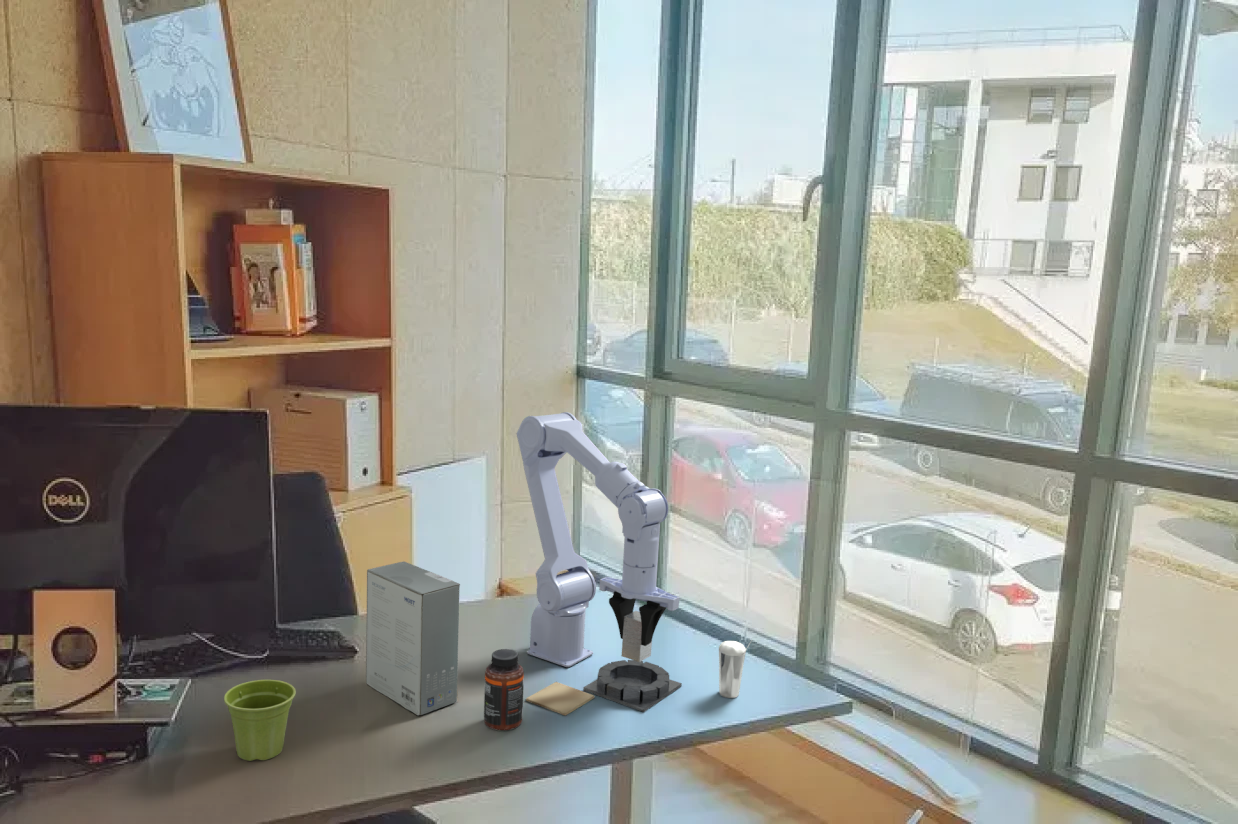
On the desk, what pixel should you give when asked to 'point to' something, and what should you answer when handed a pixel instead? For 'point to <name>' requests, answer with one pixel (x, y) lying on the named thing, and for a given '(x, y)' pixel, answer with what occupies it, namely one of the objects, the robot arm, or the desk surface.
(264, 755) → the plant pot
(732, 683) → the milkshake
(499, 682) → the supplement bottle
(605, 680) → the dark grey collar
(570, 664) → the robot arm
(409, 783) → the desk surface
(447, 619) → the hard drive box
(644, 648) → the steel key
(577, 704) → the cork pad
